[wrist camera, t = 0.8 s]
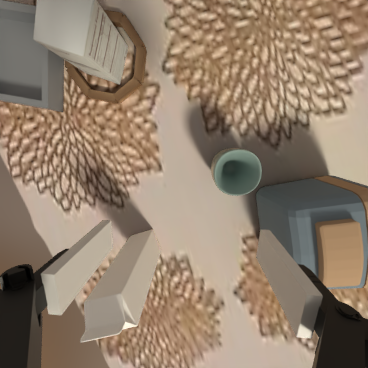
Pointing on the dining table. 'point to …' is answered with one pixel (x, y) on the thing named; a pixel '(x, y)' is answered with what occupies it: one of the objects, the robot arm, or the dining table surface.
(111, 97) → the ring
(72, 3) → the supplement box
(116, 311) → the milk
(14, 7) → the bin
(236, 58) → the dining table surface
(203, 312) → the dining table surface
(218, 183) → the cup
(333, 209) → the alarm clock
